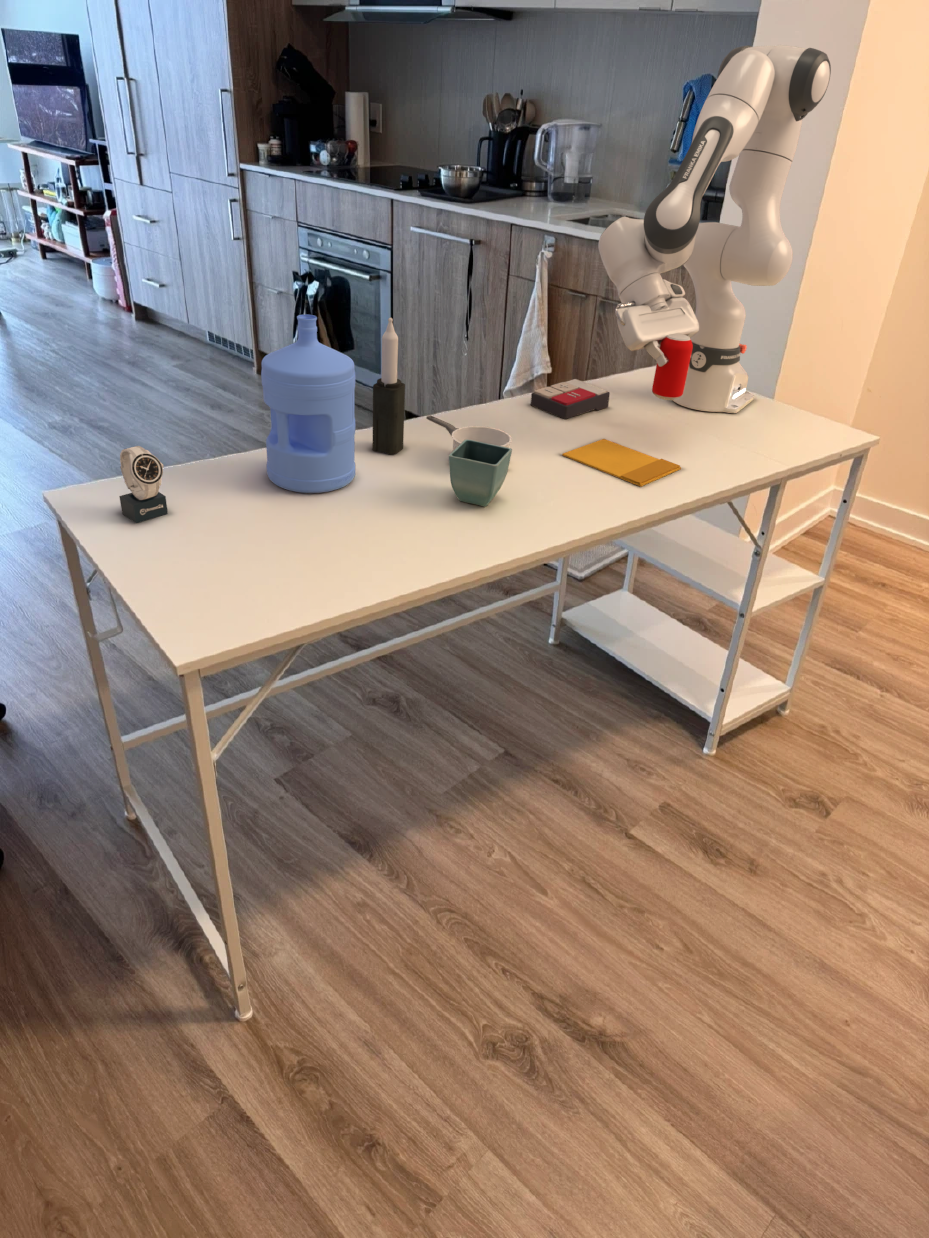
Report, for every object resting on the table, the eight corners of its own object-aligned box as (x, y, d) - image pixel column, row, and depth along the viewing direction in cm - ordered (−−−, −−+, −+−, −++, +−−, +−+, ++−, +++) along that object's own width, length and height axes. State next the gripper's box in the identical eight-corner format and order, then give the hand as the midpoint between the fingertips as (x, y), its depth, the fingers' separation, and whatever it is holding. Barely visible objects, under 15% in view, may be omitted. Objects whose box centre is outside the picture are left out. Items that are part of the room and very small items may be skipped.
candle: (370, 450, 167) (371, 318, 154) (382, 442, 171) (384, 312, 158) (393, 455, 166) (397, 322, 152) (405, 447, 170) (409, 317, 156)
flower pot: (492, 514, 147) (497, 465, 142) (444, 503, 149) (447, 455, 144) (508, 495, 154) (513, 448, 149) (462, 485, 156) (465, 438, 151)
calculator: (530, 389, 194) (575, 376, 203) (529, 407, 197) (573, 393, 205) (566, 403, 188) (611, 389, 196) (564, 422, 190) (608, 407, 199)
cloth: (603, 440, 181) (604, 437, 180) (680, 469, 170) (681, 466, 170) (561, 455, 172) (562, 452, 172) (640, 486, 161) (641, 483, 161)
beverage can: (652, 390, 177) (664, 330, 170) (683, 395, 175) (695, 335, 169) (649, 398, 171) (660, 337, 165) (680, 403, 170) (693, 342, 164)
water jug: (310, 453, 164) (305, 300, 149) (373, 476, 157) (375, 318, 142) (248, 477, 153) (236, 315, 138) (313, 503, 146) (308, 335, 131)
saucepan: (447, 436, 177) (448, 409, 174) (521, 466, 166) (524, 439, 163) (406, 449, 169) (407, 421, 166) (481, 481, 158) (484, 452, 155)
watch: (142, 527, 134) (132, 461, 128) (116, 510, 139) (106, 445, 133) (174, 517, 138) (166, 453, 132) (148, 501, 142) (139, 437, 136)
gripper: (623, 295, 161) (654, 360, 160) (687, 286, 173) (717, 347, 173) (601, 314, 166) (632, 378, 166) (665, 304, 178) (694, 363, 178)
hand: (676, 362), depth 169 cm, fingers closed on beverage can, 6 cm apart
